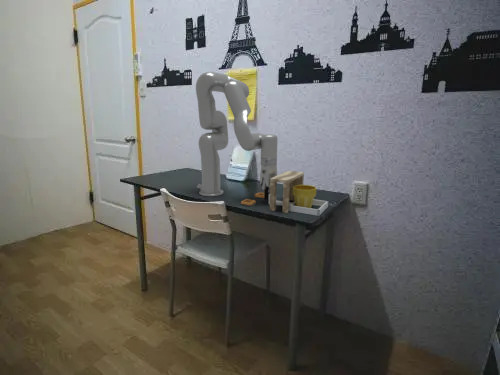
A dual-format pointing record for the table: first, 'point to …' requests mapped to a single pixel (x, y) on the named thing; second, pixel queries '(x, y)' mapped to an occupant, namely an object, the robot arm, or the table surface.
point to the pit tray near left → (259, 195)
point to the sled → (303, 209)
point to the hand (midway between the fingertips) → (267, 199)
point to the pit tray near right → (248, 202)
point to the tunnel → (285, 188)
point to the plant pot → (304, 195)
